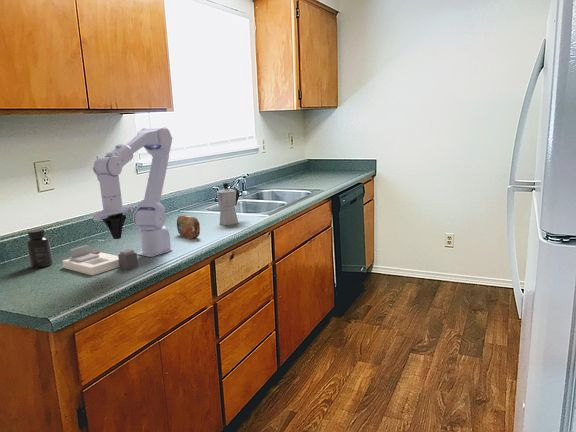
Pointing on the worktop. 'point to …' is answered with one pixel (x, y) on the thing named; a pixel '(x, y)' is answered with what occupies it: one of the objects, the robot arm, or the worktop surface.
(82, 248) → the shutter
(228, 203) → the coffee maker
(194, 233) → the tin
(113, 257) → the socket plate
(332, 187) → the worktop surface
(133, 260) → the plug
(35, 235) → the supplement bottle
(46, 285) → the worktop surface
